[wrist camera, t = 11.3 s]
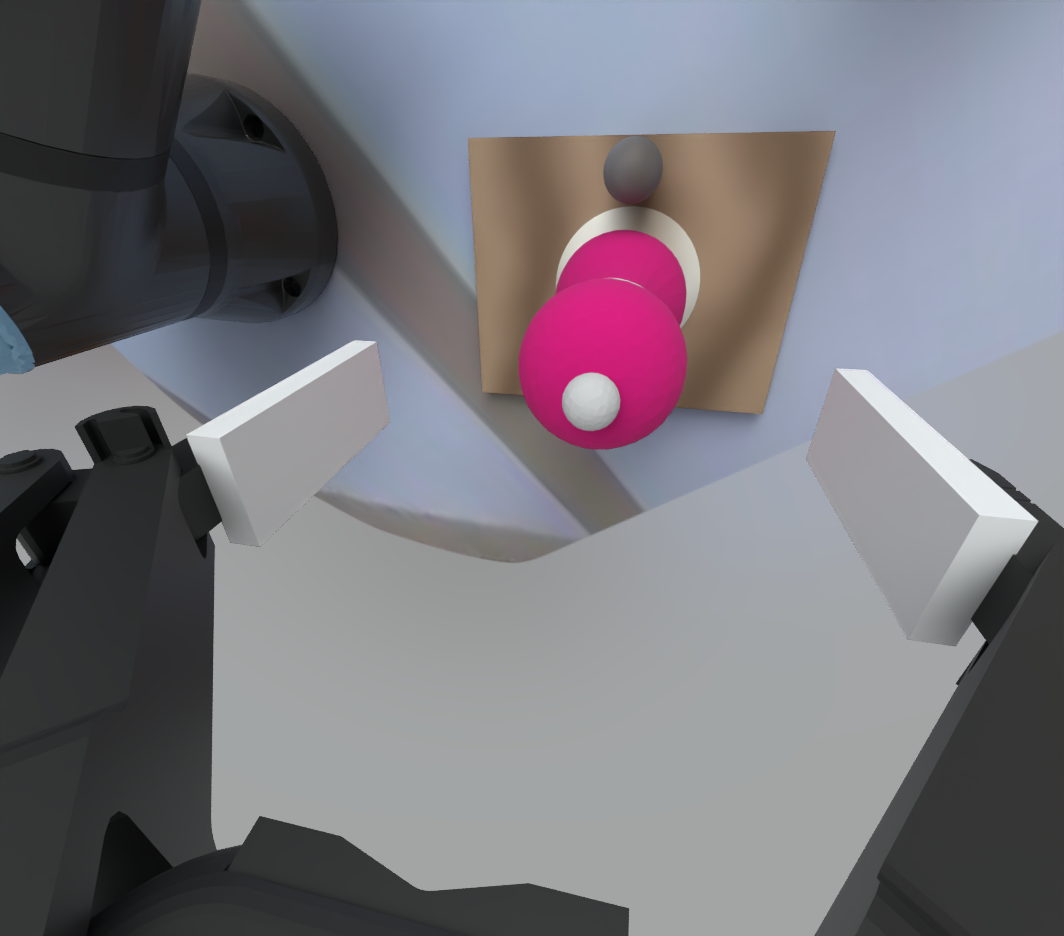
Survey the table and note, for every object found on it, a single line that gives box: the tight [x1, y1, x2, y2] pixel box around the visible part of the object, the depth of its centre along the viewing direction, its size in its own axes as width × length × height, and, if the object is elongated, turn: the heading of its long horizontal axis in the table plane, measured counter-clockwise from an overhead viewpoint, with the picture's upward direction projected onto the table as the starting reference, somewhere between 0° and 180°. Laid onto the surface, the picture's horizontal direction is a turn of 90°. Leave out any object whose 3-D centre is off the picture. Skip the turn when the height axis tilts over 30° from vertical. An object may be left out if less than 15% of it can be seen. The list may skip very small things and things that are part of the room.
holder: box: [468, 131, 836, 414], centre depth 29 cm, size 20×16×8 cm
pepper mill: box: [518, 230, 688, 449], centre depth 23 cm, size 7×7×20 cm
